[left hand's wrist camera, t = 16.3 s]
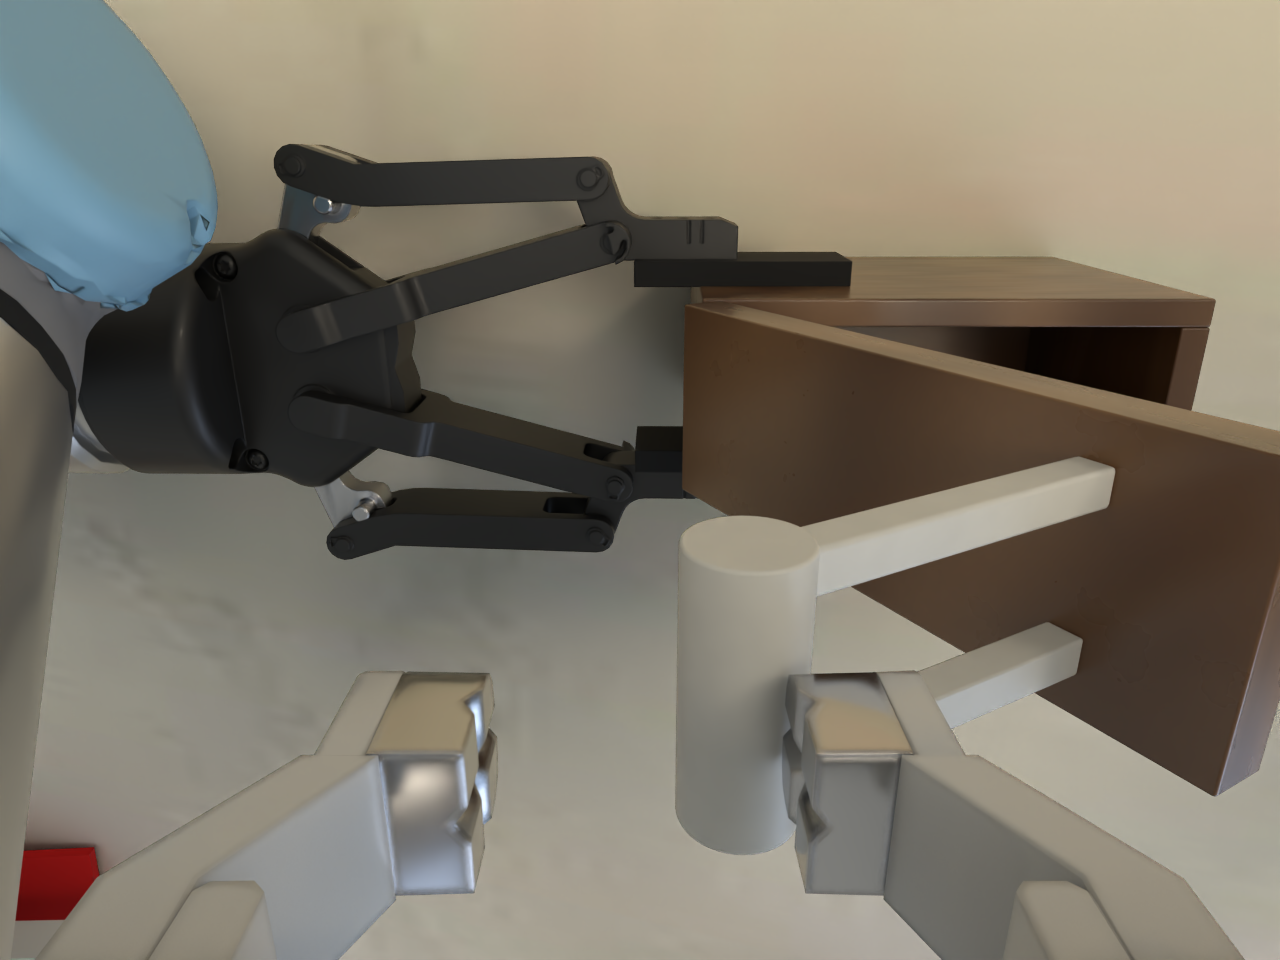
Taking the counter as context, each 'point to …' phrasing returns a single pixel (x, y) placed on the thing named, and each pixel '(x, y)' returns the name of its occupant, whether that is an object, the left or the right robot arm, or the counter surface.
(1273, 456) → the door
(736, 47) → the counter surface
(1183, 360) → the chest
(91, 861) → the toy
